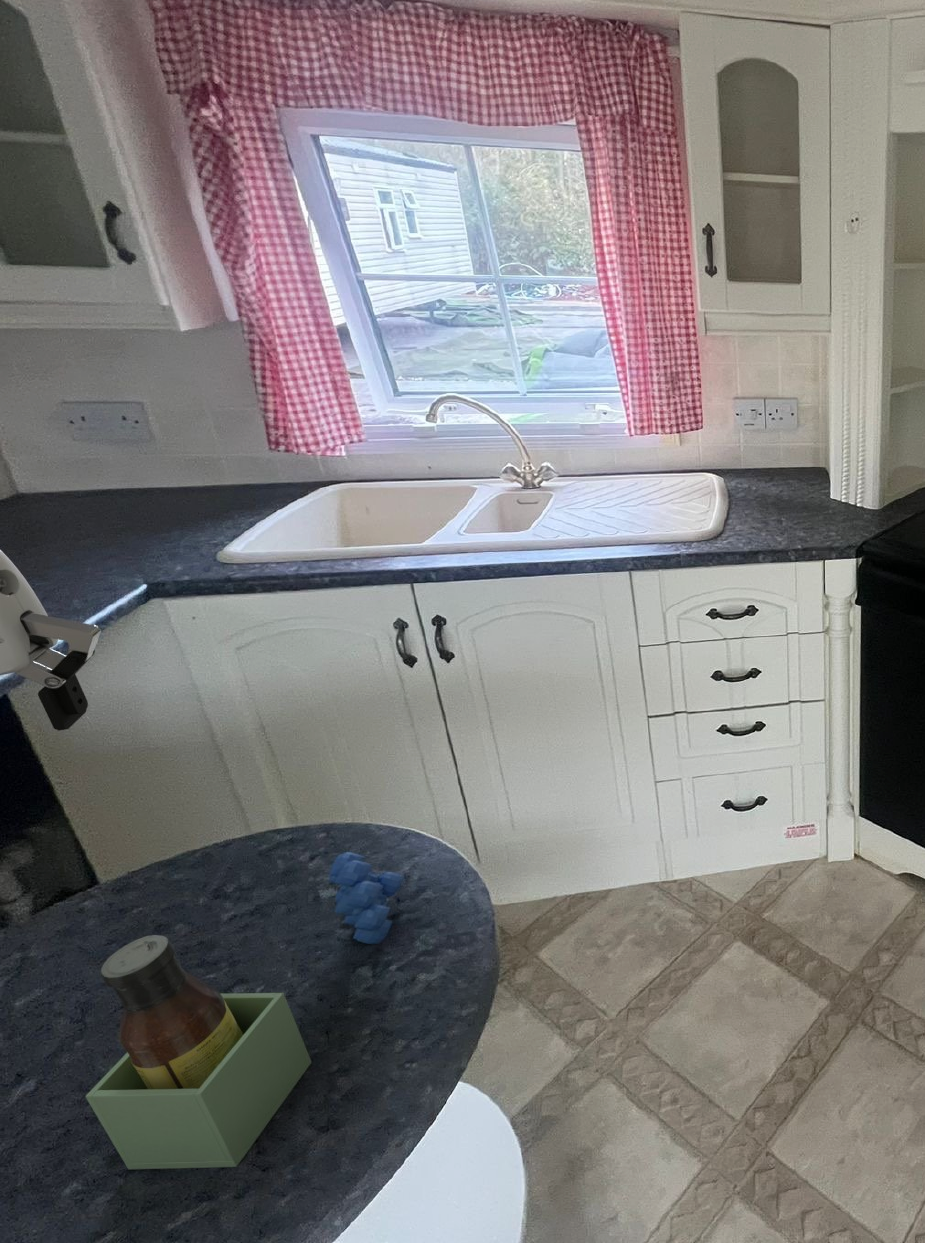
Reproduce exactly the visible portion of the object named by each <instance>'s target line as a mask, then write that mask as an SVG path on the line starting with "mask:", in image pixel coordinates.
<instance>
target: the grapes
mask: <svg viewBox="0 0 925 1243" xmlns="http://www.w3.org/2000/svg"><path fill="white" fill-rule="evenodd" d="M364 859H365V856H364V855H361V854H359V853H354V852H351V851H347V852H343V853H340V854H339V855H337V857H336V858H335V859H334V861H333V862H332V864H331V866H330V869H329V871H328V875H329V879H328V882H329V883H332V884H336V885H340V887H339V889H338V890H337V892H336V895H335V897H334V901H336V902H337V903H336V906H335V908H334V910H333V913H335V914H338V915H342V916H345V919H344V921H343V923H344V924H348V925H352V926H354V928H355V929H356V930H355V932H354V934H353V937H352V940H353V939H354V940H356V941H357V942H360V943H363V944H367V945H377V944H380V943H382V942H383V941H384V939H385V938H386V937H387V935H388V933H389V932H390V929H391V927H392V924H393V920H390V919H388V918H387V917H388V915H389V913H390V911H391V906H390V907H389V906H388V904H389V901H387V898H390V897H393V896H395V894H396V893H397V892H398V891H399V889H400V887H401V885H402V882H403V880H404V878H405V875H403V874H400V873H396V872H392V871H387V872H386V871H385V872H383V873H380V874H379V875H377V874H376V872H375V871H372V870H371V867H372V863H369V862H366V861H364Z"/></svg>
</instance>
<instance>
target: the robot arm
mask: <svg viewBox="0 0 925 1243" xmlns="http://www.w3.org/2000/svg"><path fill="white" fill-rule="evenodd" d="M101 632H102V631H101V628H100V627H99V626H98V625H96V624H90V623H87V622H86V623H85V622H80V621H75V620H70V619H66V618H65V619H64V618H60V617H54V616H50V615H48V613H47V611H46V609H45V608H44V606H43V604H42V602H41V601H40V599H39V598H38V595H36V593H35V591H34V589H33V588H32V587H31V585H30V584H29V582H28V581H27V579H26V577H25V576H24V575H23V574H22V573H21V571H20V570H19V568H17V566H16V565H15V564H14V563H13V561H12V560H11V559H10V557H8V556H7V555H6V554H5V553H4V551H2V550H1V549H0V676H5V675H9V674H13V673H14V674H16V675H18V676H21V677H23V678H25V679H27V680H29V681H32V682H34V683H37V685H38V684H39V685H40V686H43V687H42V688H41V689H39V691H38V692H37V697H38V698H39V700H40V702H41V705H42V707H43V709H44V711H45V713H46V715H47V718H48V719H49V722H50V723H51V725H52V728H53V730H56V731H58V732H59V731H66V730H69V729H71V728H72V726H73V725H74V724H75V723H77V721H79V720H80V718H82V717H83V716H84V715H85V714H86V713H87V711H88V710H87V709H88V707H89V702H88V699H87V696H86V695H85V693H84V690H83V688H82V686H81V684H80V682H79V679H78V677H77V675H76V674H77V673H78V672H79V671H80V670H82V668H83V667H84V666H85V665H86V663H87V662H88V661H89V660H90V659H91V658H92V657H93V656H94V655H95V653H96V650H95V649H96V647H97V644H98V642H99V638H100V635H101ZM59 641H63V642H66V643H67V645H68V648H67V650H68V651H67V653H66V655H65V654H64V653H61V652H59V651H58V650H57V651H56V650H55V649H52V648H53V647H55V646H56V645H57V644H58V642H59Z"/></svg>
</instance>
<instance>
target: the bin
mask: <svg viewBox="0 0 925 1243" xmlns="http://www.w3.org/2000/svg"><path fill="white" fill-rule="evenodd" d="M220 994H221V996H222V997H223V999H224V1001H225V1002H226V1004H227V1006H228V1008H229V1010H230V1011H231V1013H232V1015H233V1017H234V1019H235V1021H236V1022H237V1024H238V1026H239V1028H240V1030H241V1031H242V1033H243V1036H242V1037H241V1039H240V1040H239V1041H238V1042H237V1043H236V1045H235V1046H234V1047H233V1048H232V1049H231V1051H230V1052H229V1053H228V1054H227V1055H226V1057H225V1058H224V1059H223V1060H222V1061H221V1063H220V1064H219V1065H218V1066H217V1068H216V1069H215V1070H214V1071H213V1072H212V1074H211V1075H210V1076H209V1077H208V1078H207V1080H206V1081H205V1082H204V1083H203V1084H202V1086H201V1087H200V1088H199V1089H148V1088H147V1086H146V1085H145V1083H144V1081H143V1080H142V1078H141V1077H140V1075H139V1073H138V1072H137V1070H136V1069H135V1067H134V1066H133V1064H132V1062H131V1060H130V1056H129V1054H128V1052H127V1051H126V1053H125V1054H124V1055H123V1056H122V1057H121V1058H120V1059H119V1060H118V1061H117V1062H116V1063H115V1064H114V1066H113V1067H112V1068H111V1069H109V1071H107V1073H106V1074H105V1075H104V1076H103V1077H102V1078H101V1079H100V1080H99V1081H98V1082H97V1083H96V1084H95V1085H94V1086H93V1087H92V1089H91V1090H89V1092H88V1093H86V1095H85V1096H84V1097H85V1099H86V1100H87V1102H88V1104H89V1106H90V1108H91V1109H92V1111H93V1112H94V1114H95V1116H96V1118H97V1119H98V1120H99V1122H100V1124H101V1126H102V1127H103V1130H104V1131H105V1132H106V1134H107V1136H108V1138H109V1139H110V1140H111V1142H112V1144H113V1146H114V1148H115V1149H116V1151H117V1153H118V1154H119V1156H120V1158H121V1160H122V1162H123V1163H124V1164H125V1167H126V1168H127V1170H163V1169H164V1170H166V1169H168V1170H169V1169H200V1168H201V1169H206V1168H207V1169H209V1168H237V1167H238V1166H239V1164H240V1163H241V1162H242V1160H243V1159H244V1158H245V1156H246V1154H247V1153H248V1152H249V1150H250V1149H251V1148H252V1146H253V1145H254V1144H255V1142H256V1141H257V1139H258V1138H259V1137H260V1136H261V1134H262V1133H263V1131H264V1130H265V1129H266V1127H267V1125H269V1122H270V1121H271V1120H272V1118H273V1117H274V1115H275V1114H276V1113H277V1112H278V1110H279V1108H280V1107H281V1106H282V1104H283V1103H284V1102H285V1100H286V1099H287V1098H288V1097H289V1095H290V1093H291V1092H292V1091H293V1089H294V1088H295V1086H296V1085H297V1084H298V1082H299V1080H301V1078H302V1076H303V1075H304V1074H305V1072H306V1071H307V1070H308V1069H309V1067H310V1066H311V1064H312V1059H311V1057H310V1054H309V1052H308V1049H307V1047H306V1045H305V1042H304V1040H303V1038H302V1037H303V1036H302V1035H301V1033H300V1030H299V1028H298V1025H297V1023H296V1020H295V1018H294V1015H293V1013H292V1010H291V1008H290V1005H289V1003H288V1001H287V998H286V995H285V994H284V992H251V993H250V992H247V993H243V992H242V993H241V992H240V993H237V992H235V993H220Z"/></svg>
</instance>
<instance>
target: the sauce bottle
mask: <svg viewBox="0 0 925 1243" xmlns="http://www.w3.org/2000/svg"><path fill="white" fill-rule="evenodd" d="M175 951H176V948H175V946H174V945H173V943H172V942H171V940H170V938H168V937H166V936H164V935H159V934H152V935H146V936H143V937H140V938H138V939H135V940H133V941H131V942H129V943H128V944H126V945H124V946H122V947H121V948H120V949H118V950H116V951H115V952H114V953H113V954H111V955H110V956H109V957H108V958H107V959H106V960H105V961H104V962H103V963H102V964H103V965H102V966H101V969H100V975H101V977H102V980H103V981H104V983H105V984H106V986H107V987H109V988H110V989H111V988H112V989H114V991H115V993H116V994H117V996H118V998H119V1000H120V1001H121V1002H120V1004H121V1006H122V1008H123V1012H122V1013H121V1016H120V1019H119V1033H118V1034H119V1035H118V1038H119V1041H120V1044H121V1045H122V1047H123V1048H124V1051H126V1053H127V1052H128V1054H129V1056H130V1060H131V1062H132V1064H133V1066H134V1067H135V1069H136V1070H137V1072H138V1073H139V1075H140V1077H141V1078H142V1080H143V1081H144V1083H145V1085H146V1086H147V1088H148V1089H199V1088H200V1087H201V1086H202V1084H203V1083H204V1082H205V1081H206V1080H207V1078H208V1077H209V1076H210V1075H211V1074H212V1072H213V1071H214V1070H215V1069H216V1068H217V1066H218V1065H219V1064H220V1063H221V1061H222V1060H223V1059H224V1058H225V1057H226V1055H227V1054H228V1053H229V1052H230V1051H231V1049H232V1048H233V1047H234V1046H235V1045H236V1043H237V1042H238V1041H239V1040H240V1039H241V1037H242V1036H243V1033H242V1031H241V1030H240V1028H239V1026H238V1024H237V1022H236V1021H235V1019H234V1017H233V1015H232V1013H231V1011H230V1010H229V1008H228V1006H227V1004H226V1002H225V1001H224V999H223V997H222V996H221V994H222V993H221V992H219V990H217V989H216V988H215V987H212V986H211V985H209V984H208V983H206V982H204V981H202V980H200V979H199V978H198V977H196V976H194V975H192V974H190V973H189V972H187V971H186V970H185V969H184V968H183V967H182V966H181V964H180V962H179V961H178V958H177V957H176V955H175Z"/></svg>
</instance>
